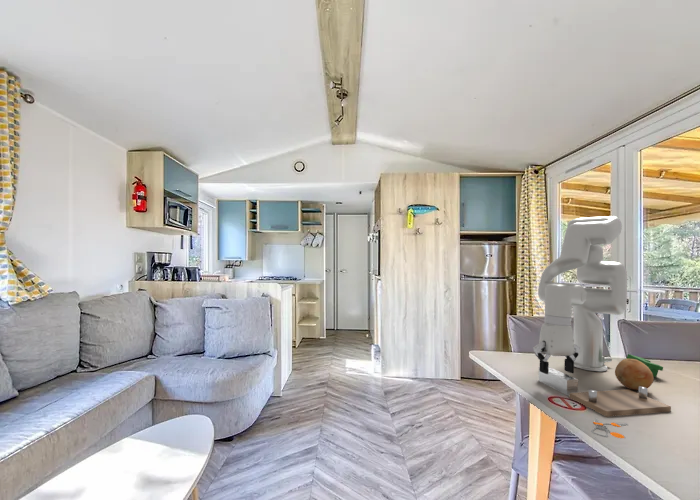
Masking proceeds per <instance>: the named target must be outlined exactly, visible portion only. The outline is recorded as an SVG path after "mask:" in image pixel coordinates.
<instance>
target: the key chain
mask: <svg viewBox="0 0 700 500" xmlns="http://www.w3.org/2000/svg"><path fill="white" fill-rule="evenodd" d="M594 420H595V422H594V421H593V422H592V423H593V424H594V427H593V428H592V429H591V431H590V432H591V433H592V434H593V435H597V436H600V437H604V438H608V437H609V436H608V435H609V434H610V435H611V436H612V437H614V438H617V439H624V440H625V439H626V438H627V437H626V436H625V435H623V434H621V433H619V432H616V431H615V432H614V431H613V432H611V430H609V429H608V426H607V425H609V426H614V427H616V426H617V427H616V428H621V427H624V426H629V424H628V423H627V422H623V423H620V422H619V423H617V422H610V423H602V422H600V420H599V419H598V418H594ZM620 425H621V426H620ZM596 429H598V430H600V431H604V432H605V435H603V434H599V433H596V432H594V431H595V430H596Z"/></svg>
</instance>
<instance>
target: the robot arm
mask: <svg viewBox="0 0 700 500" xmlns="http://www.w3.org/2000/svg"><path fill="white" fill-rule="evenodd" d="M622 228H623V225H622V221H621V219H620V218H619V217H617V216H615V215H613V216H612V215H609V216H590V217H587V216H586V217H579V218H578V217H577V218H574V219H571V220H569V221H568V223H567V228H566V229H565V232H564V237H563V243H562V247H561V250H560V255H559V257H558V258H557V259H555V260H553V261H552V262H551V263H550V264H549V265H547V267H546V268H544V270H543V271H542V274H541V275H540V279H539V283H538V289H537V294H538V297H539V299H540V300H541V302H544V323H542V324H541V327H540V332H539V341H538V343H537V344H535V346H533V348H532V349H533V352H534V355H535V356H536V357H537V360H539V367H540V372H542V373H545V374H548V371H549V367H550V365H549V361H548V360H549V359H550V357H565V358H564V365H563V366H564V367H563V369H564V371H565V372H567V373H570V374H573V375H574V373H575V368H577V369H581V370H585V371H593V372H606V371H608V366H607V365H606V364H605V363H612V360H613V359H612V357H611V356H603V350H604V349H603V348H604V347H603V345H604V343H603V342H604V341H603V339H604V338H603V337H604V336H603V332H604V331H603V329H604V327H603V323H602V321H601V319H600V317H599V316H598V315H597V314H604V315H605V314H607V315H615V316H620V315H624V313H625V312H626V309H627V303H628V302H627V300H628V299H627V297H628V296H627V294H628V293H627V292H628V291H627V290H628V273H627V272H628V271H627V268H626V266H625V265H624V264H623V263H621V262H617V261H604V249H603V247H602V245H610V244H612V243H613V242H614V241H615V240H616V239H617V238H618V237H619V236H620V235H621V233H622V230H623V229H622ZM575 269H576V279H577V281H578V282H579V283H581V284H584V285H591V286H604V287H610V289H608V288H607V289H606V288H599V287H598V288H597V287H596V288H595V287H584V286H582V285H580V284H576V283H567V282H566V283H565V282H553V281H554V279H555V278H556V277H558V276H560V275H561V274H563V273H566V272H569V271H572V270H575ZM572 312H573V314H572ZM596 313H597V314H596ZM572 315H573V318H572ZM572 322H573V325H572Z"/></svg>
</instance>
